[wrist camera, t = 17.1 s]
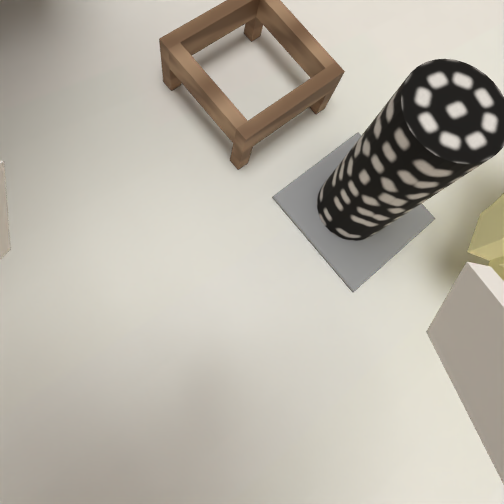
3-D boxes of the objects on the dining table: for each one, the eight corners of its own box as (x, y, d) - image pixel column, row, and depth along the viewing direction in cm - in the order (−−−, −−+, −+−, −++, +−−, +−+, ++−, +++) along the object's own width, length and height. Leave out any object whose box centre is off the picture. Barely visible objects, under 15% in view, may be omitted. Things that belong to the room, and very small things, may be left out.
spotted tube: (362, 163, 50) (469, 44, 31) (397, 223, 49) (531, 138, 30) (304, 189, 48) (379, 80, 29) (339, 252, 47) (441, 182, 28)
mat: (272, 197, 48) (272, 196, 48) (356, 133, 52) (358, 132, 51) (352, 292, 47) (353, 291, 46) (433, 219, 50) (435, 218, 50)
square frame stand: (163, 81, 50) (159, 38, 43) (252, 27, 53) (261, -20, 46) (238, 169, 48) (245, 139, 42) (324, 108, 52) (344, 71, 45)
